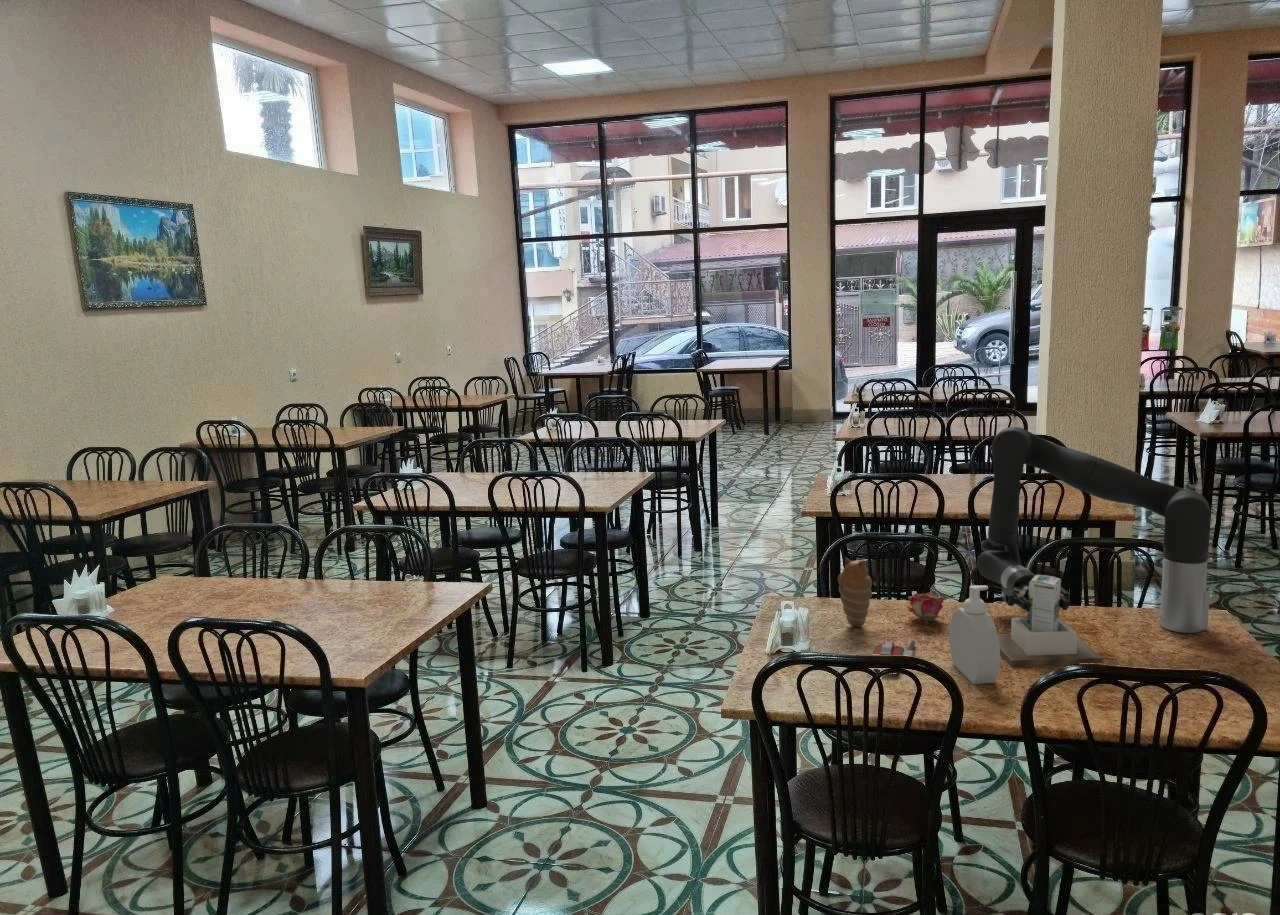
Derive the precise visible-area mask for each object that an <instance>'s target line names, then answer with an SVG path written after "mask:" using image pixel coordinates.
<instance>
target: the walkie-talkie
mask: <svg viewBox="0 0 1280 915" xmlns="http://www.w3.org/2000/svg"><path fill="white" fill-rule="evenodd" d="M915 645H916V641H915V640H912V641H910V644H909V647H908V649H905V648H904V647H903V646H901V645H895V642H892V641H883V643H882V644H881V643H880V644H876V645H875V647H874V649H873V651H872V654H880V655H908V656H914V657H915V655H914V654H915V652H914V647H915ZM872 654H871V655H872ZM874 671H875V672H876V673H875V674H878V673H879V672H880V670H878V669H874ZM897 675H899V674H893V673H892V674H890V675H889V676H897Z"/></svg>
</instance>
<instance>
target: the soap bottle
mask: <svg viewBox="0 0 1280 915" xmlns="http://www.w3.org/2000/svg"><path fill="white" fill-rule="evenodd" d="M986 590H989V586H988V585H985V584H984V585H981V584H979V585H972V584H971V585H970V586H969V597H968V598H966V599H965V600H964V602H963V606H962V607H957V608H956V609H955V610H954V612H953V613H952V615H951V619H950V623H949V624H950V625H949V634H948V638H949V639H948V640H949V649H950V656H951V661H952V664H953V666H954V667H955V668H956V669H957V670H958V671H959V672H961V673H962V675H963V676H964V677H965V678H967V680H968V681H969V682H970V683H972V684H973V685H983V684H984V685H986V684H995V683H996V681H997V679H998V677H999V674H1000V668H1001V667H1000V666H1001V664H1000V663H1001V655H1000V645H999V639H998V635H997V634H998V631H997V626H996V624H995V623H994V622H995V621H994V620H993V617H992V616H991V614H989V613H988V611H986V603H985V602H984V600H983V599H982V598H981V597H980V595H981V594H980V593H981V592H980V591H986Z"/></svg>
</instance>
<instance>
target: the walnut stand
mask: <svg viewBox="0 0 1280 915" xmlns="http://www.w3.org/2000/svg"><path fill="white" fill-rule="evenodd" d="M997 635H998V639H999V645H1000V657H1002V659H1004V661H1005V662H1006V663H1007V665H1009V667H1013V668H1015V667H1017V668H1018V667H1020V668H1021V667H1048V666H1049V667H1051V666H1073V665H1072V664H1079V663H1102V664H1103V657H1102V656H1101V655H1100V654H1099V653H1098V652H1096V650H1095V649H1093V648H1092V647H1091V646H1089V644H1087V643H1086V642H1085V641H1084V640H1082V639H1081V637H1079V635H1077V654H1059V655H1027V654H1026V653H1025V652H1024V651H1023V650H1022V649H1021V648H1020V647H1019V646H1018V645H1017V644H1016V643H1015V642H1014V641H1013V640H1012V639H1011V633H1004V634H1003V633H1000V634H998V633H997Z"/></svg>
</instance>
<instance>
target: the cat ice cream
mask: <svg viewBox="0 0 1280 915" xmlns="http://www.w3.org/2000/svg"><path fill="white" fill-rule="evenodd" d="M844 563H845V566H844V569H842V571H841V572H840V573H839V574H838V576H837V582H838V584H839V585H838V593H839V594H840V601H841V604H842V609H843V612H844V614H845V615H846V616H845V617H846V620H847V622H848V624H849V625H850V626H852V627H853V626H854V627H853V628H861V627H863V626H864V625H865V623H866V619H867V617H868V613H869V607H870V604H871V603H870V602H871V598H872V595H873V592H872V590H871V588H872V585H873V580H872V578H871V577H870V575H869V574H868V573H869V572H868V568H867V566H866V565H865V563H866V562H865V560H864V559H862V560H851V559H849V558H848V557H845V559H844Z"/></svg>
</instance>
